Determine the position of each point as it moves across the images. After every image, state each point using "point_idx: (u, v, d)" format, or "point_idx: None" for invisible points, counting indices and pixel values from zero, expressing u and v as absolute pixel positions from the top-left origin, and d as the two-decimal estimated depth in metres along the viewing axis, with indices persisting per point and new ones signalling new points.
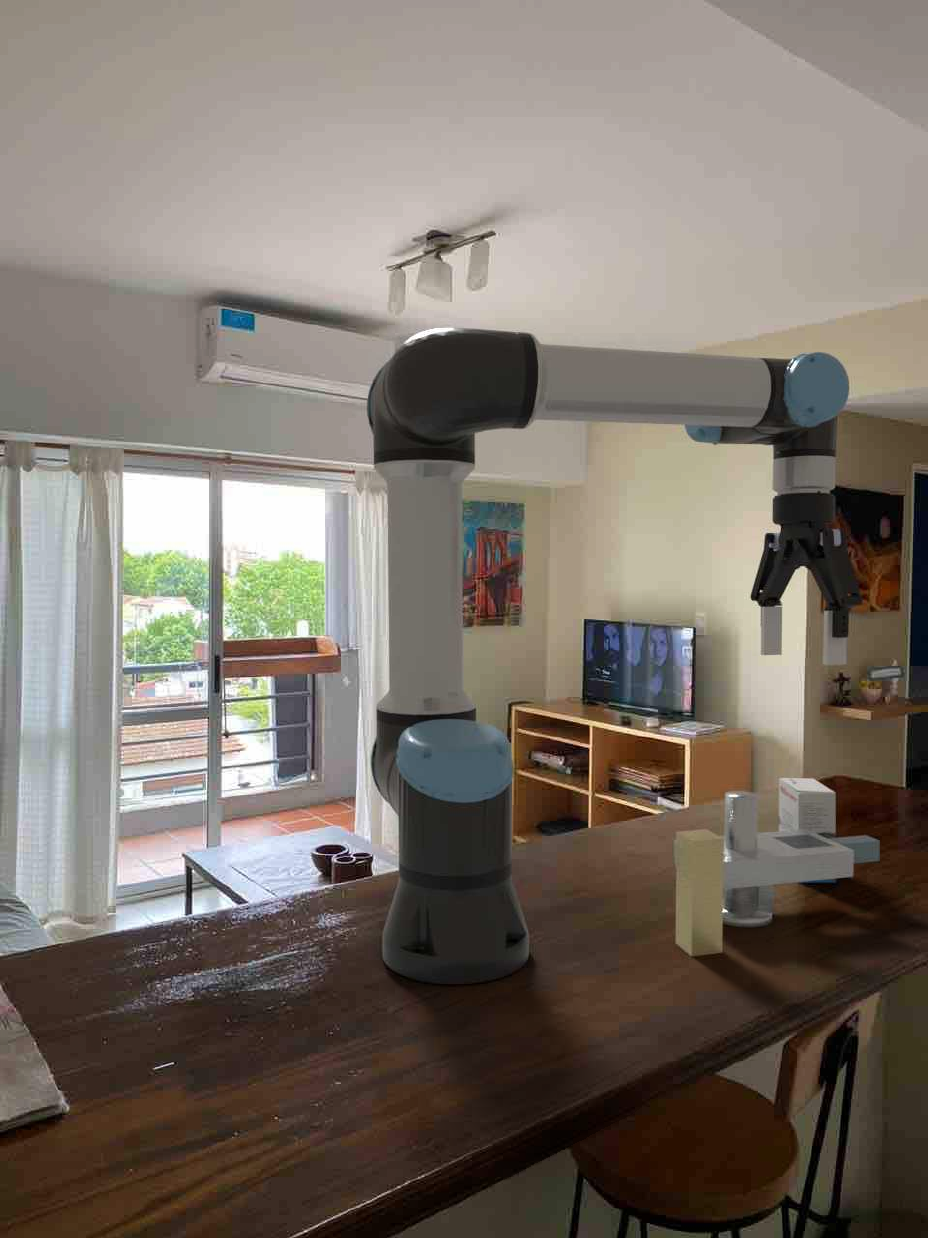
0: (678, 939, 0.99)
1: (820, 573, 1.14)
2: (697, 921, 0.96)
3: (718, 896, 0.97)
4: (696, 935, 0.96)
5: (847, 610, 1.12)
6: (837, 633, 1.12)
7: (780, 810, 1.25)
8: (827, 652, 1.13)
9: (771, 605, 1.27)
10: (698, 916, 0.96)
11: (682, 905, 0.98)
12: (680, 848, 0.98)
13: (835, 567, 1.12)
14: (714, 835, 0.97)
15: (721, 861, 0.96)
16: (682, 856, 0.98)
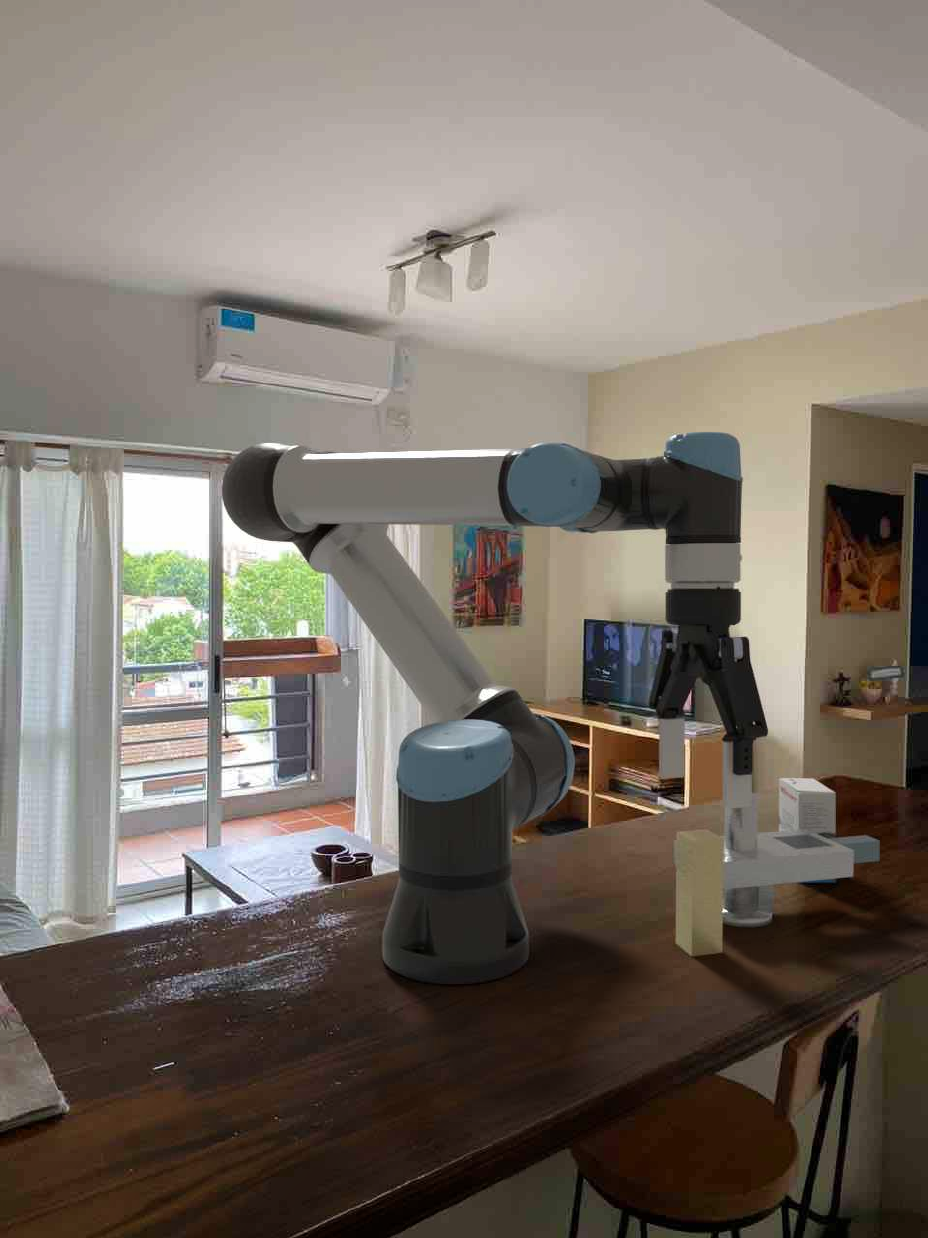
0: (678, 939, 0.99)
1: (719, 692, 0.91)
2: (697, 921, 0.96)
3: (718, 896, 0.97)
4: (696, 935, 0.96)
5: (750, 741, 0.89)
6: (738, 770, 0.89)
7: (780, 810, 1.25)
8: (727, 792, 0.90)
9: (671, 717, 1.04)
10: (698, 916, 0.96)
11: (682, 905, 0.98)
12: (680, 848, 0.98)
13: (734, 687, 0.89)
14: (714, 835, 0.97)
15: (721, 861, 0.96)
16: (682, 856, 0.98)
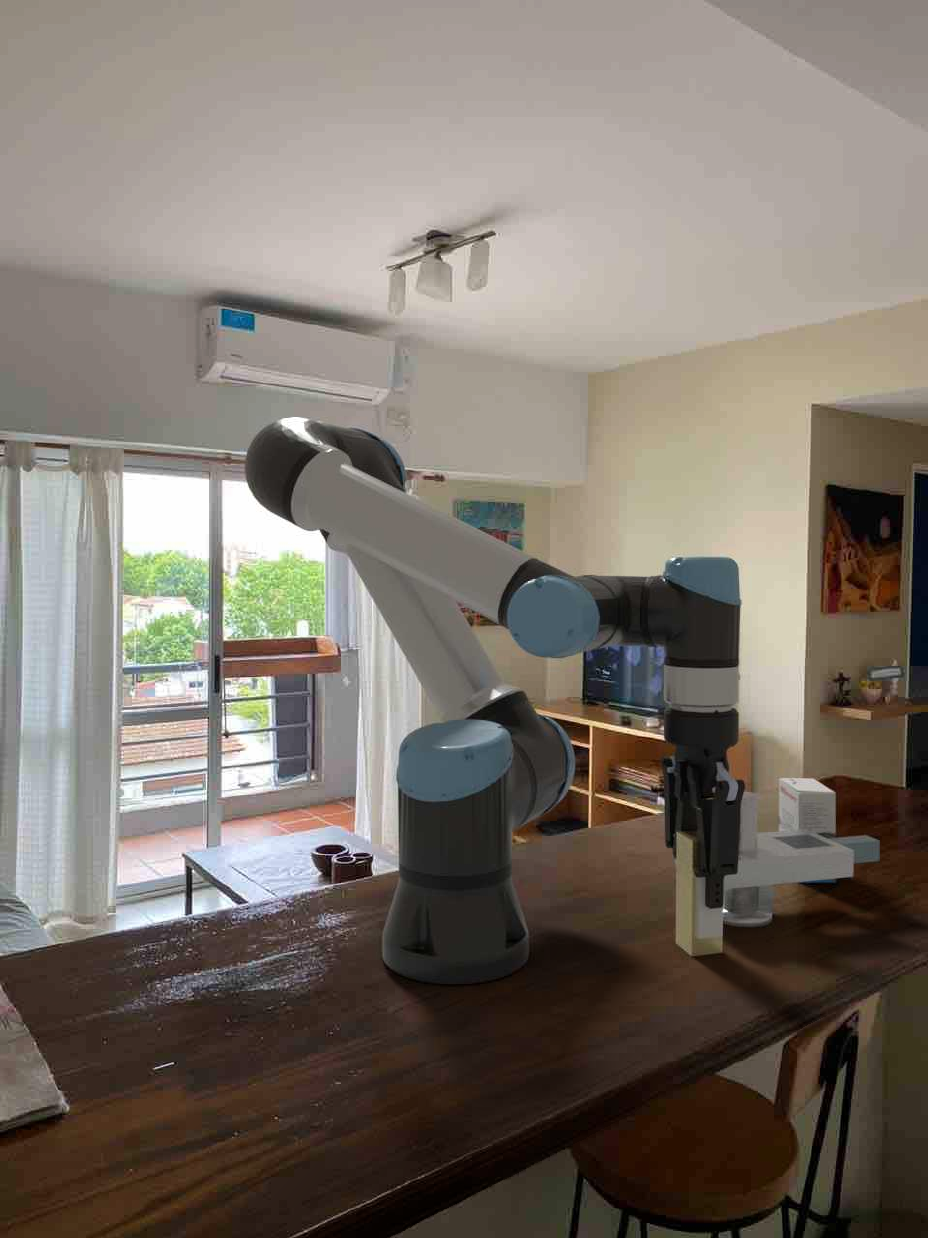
0: (678, 939, 0.99)
1: (704, 826, 0.95)
2: None
3: None
4: None
5: (721, 877, 0.94)
6: (710, 904, 0.94)
7: (780, 810, 1.25)
8: (699, 924, 0.95)
9: None
10: None
11: (682, 905, 0.98)
12: (680, 848, 0.98)
13: (718, 831, 0.92)
14: None
15: None
16: (683, 856, 0.98)
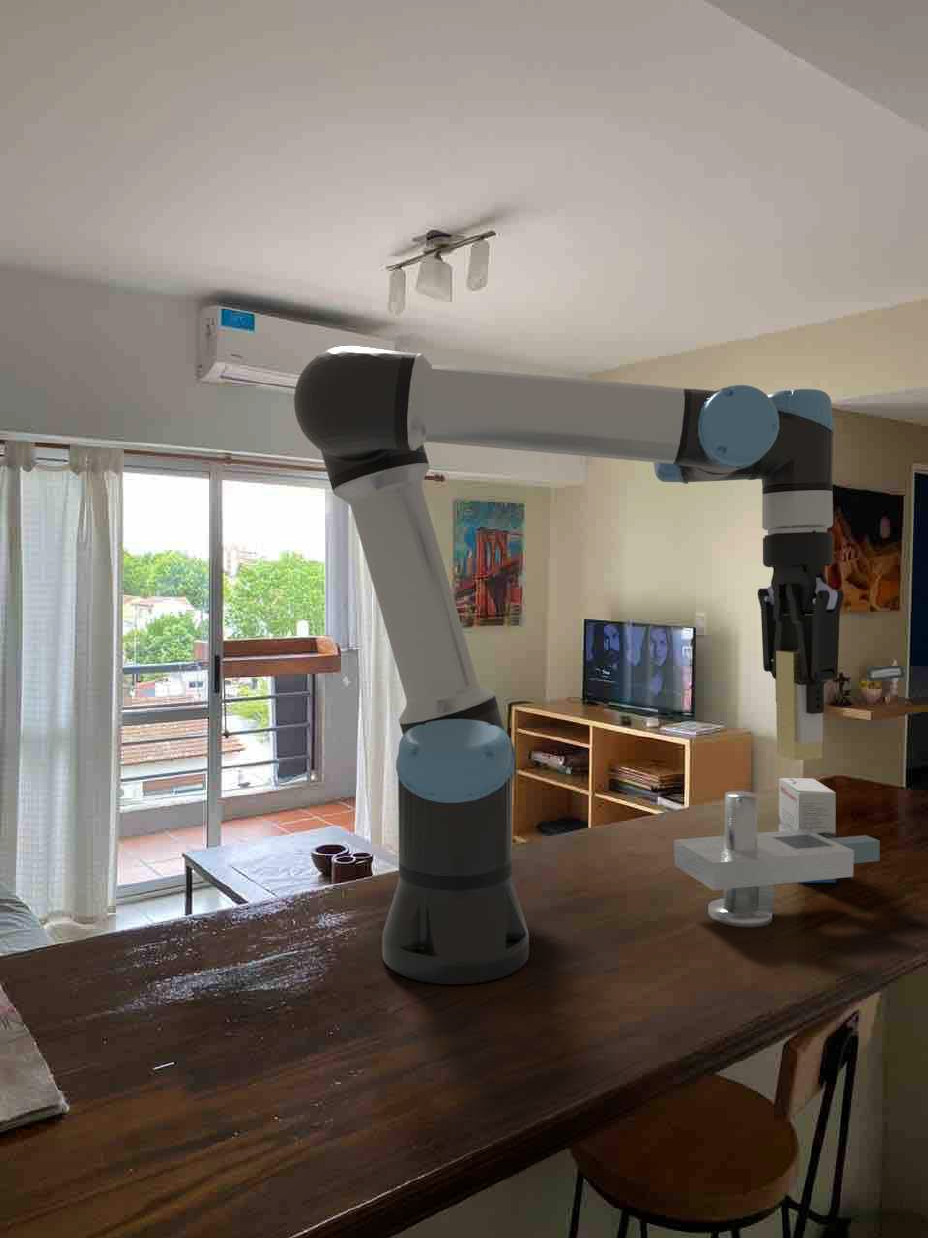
0: (779, 750, 1.07)
1: (804, 637, 1.03)
2: None
3: None
4: None
5: (821, 684, 1.03)
6: (811, 709, 1.03)
7: (780, 810, 1.25)
8: (801, 729, 1.04)
9: None
10: None
11: (783, 716, 1.06)
12: (780, 664, 1.06)
13: (819, 637, 1.00)
14: None
15: None
16: (783, 670, 1.06)
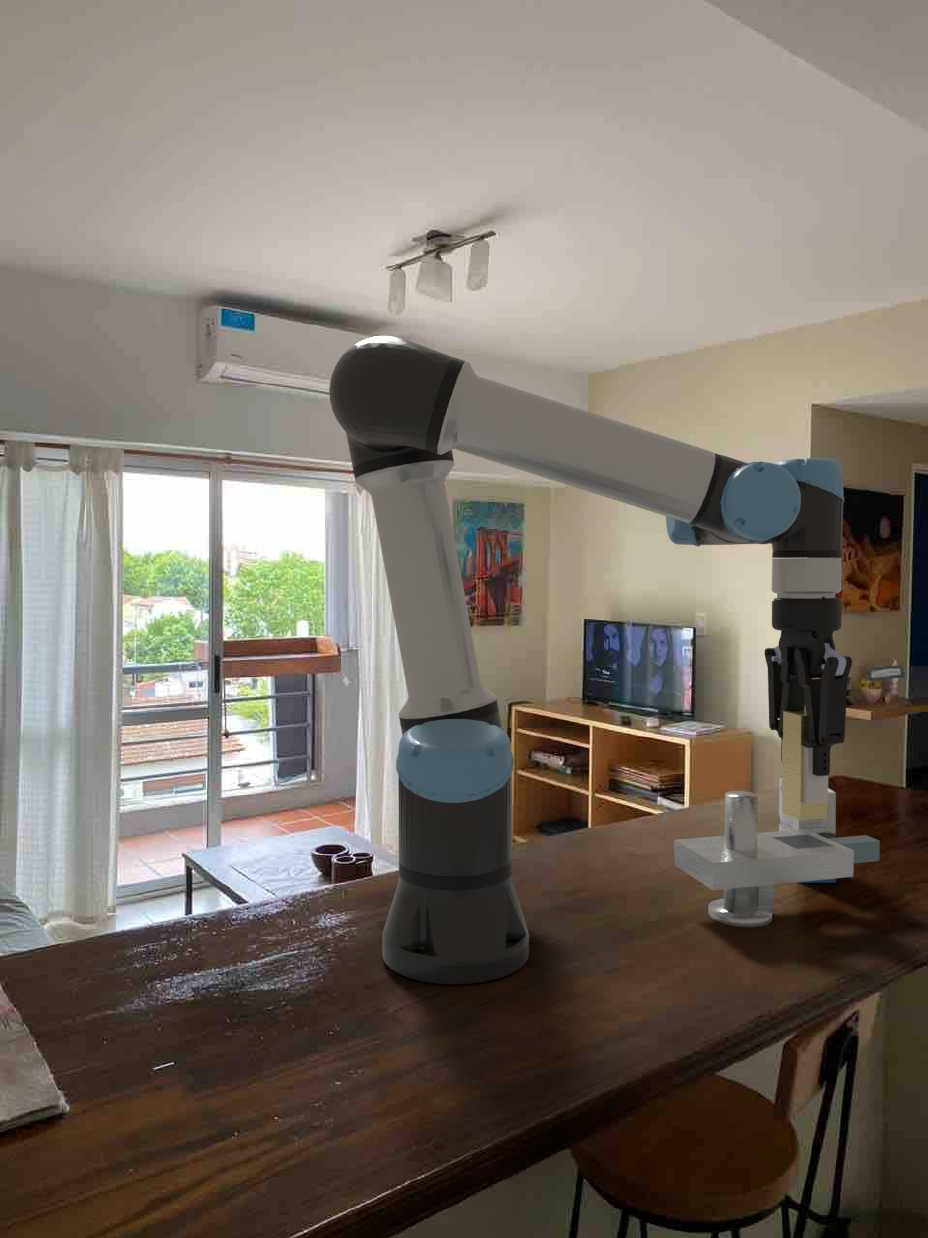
0: (785, 808, 1.09)
1: (812, 701, 1.05)
2: None
3: None
4: None
5: (828, 747, 1.05)
6: (818, 771, 1.05)
7: (780, 810, 1.25)
8: (807, 790, 1.06)
9: None
10: None
11: (790, 776, 1.08)
12: (787, 725, 1.08)
13: (827, 703, 1.02)
14: None
15: None
16: (790, 731, 1.08)
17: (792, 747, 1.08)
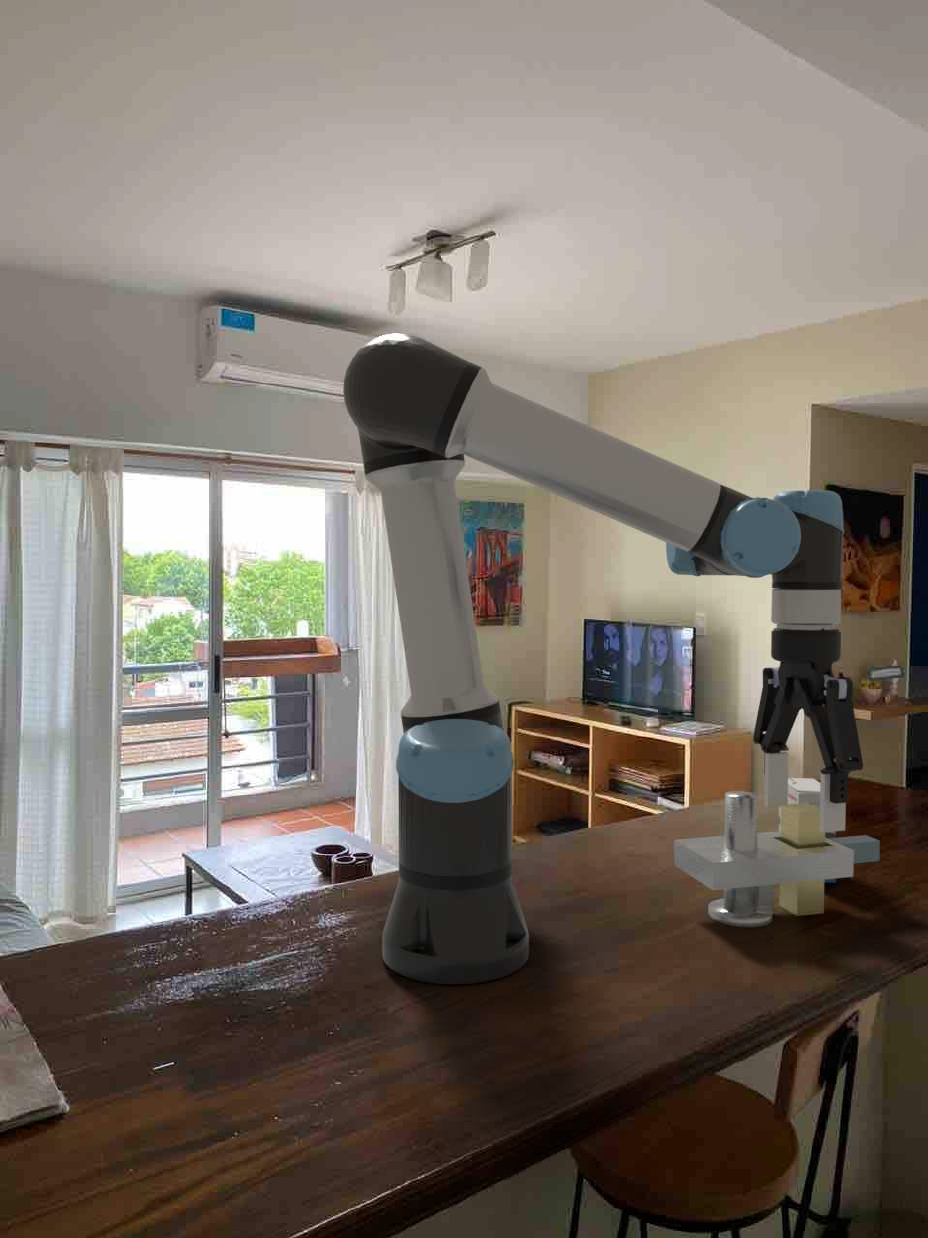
0: (782, 902, 1.10)
1: (821, 727, 1.03)
2: (801, 884, 1.07)
3: None
4: (801, 897, 1.07)
5: (846, 773, 1.02)
6: (835, 799, 1.02)
7: (780, 810, 1.25)
8: (824, 818, 1.03)
9: (776, 751, 1.14)
10: None
11: None
12: (785, 819, 1.09)
13: (837, 726, 1.01)
14: (816, 807, 1.08)
15: None
16: (787, 826, 1.09)
17: (789, 842, 1.08)
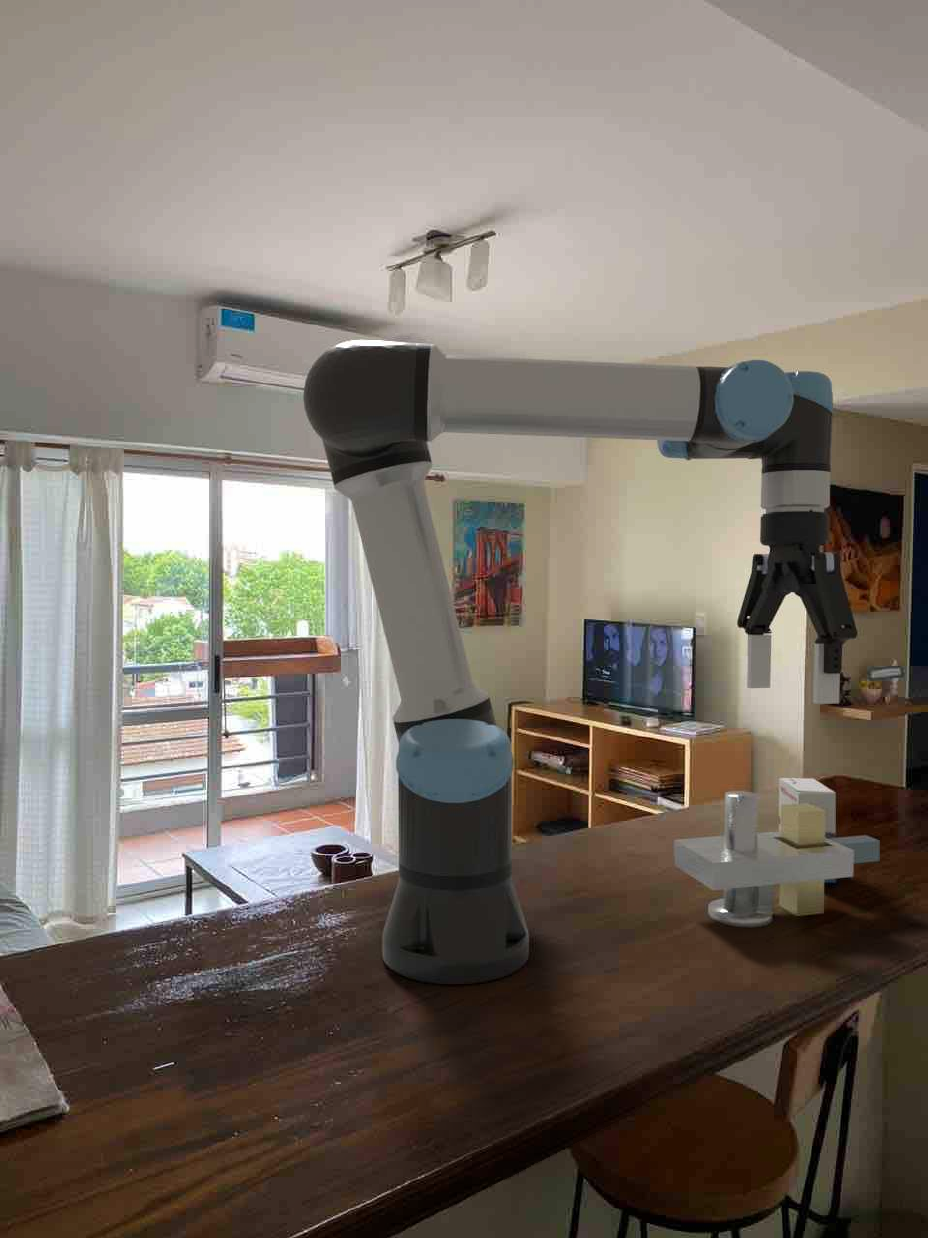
0: (782, 902, 1.10)
1: (811, 601, 1.03)
2: (801, 884, 1.07)
3: None
4: (801, 897, 1.07)
5: (840, 643, 1.00)
6: (829, 669, 1.01)
7: (780, 810, 1.25)
8: (817, 689, 1.02)
9: (759, 633, 1.16)
10: None
11: None
12: (785, 819, 1.09)
13: (827, 595, 1.00)
14: (816, 807, 1.08)
15: (823, 831, 1.07)
16: (787, 826, 1.09)
17: (789, 842, 1.08)
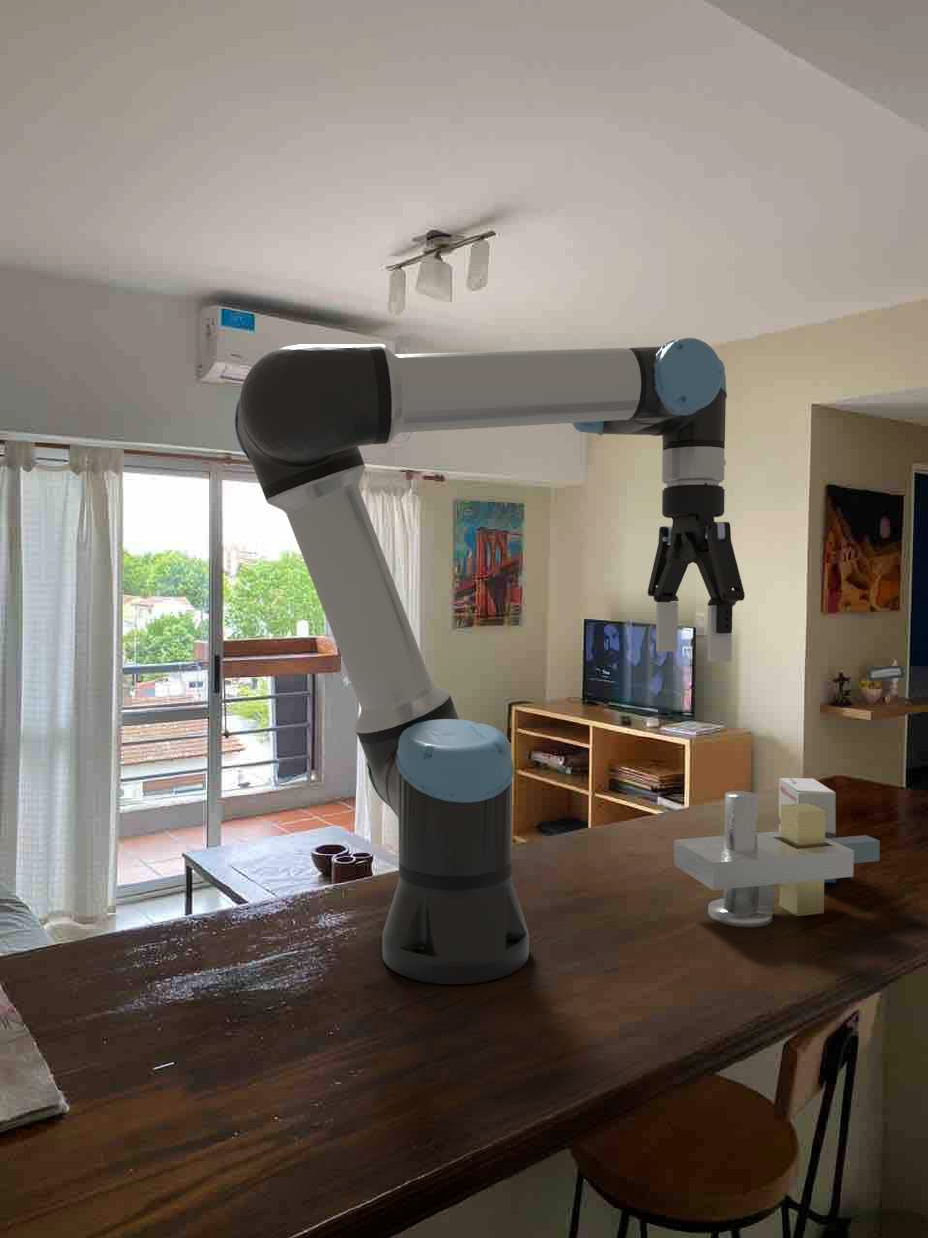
0: (782, 902, 1.10)
1: (705, 567, 1.11)
2: (801, 884, 1.07)
3: None
4: (801, 897, 1.07)
5: (730, 605, 1.09)
6: (720, 629, 1.09)
7: (780, 810, 1.25)
8: (711, 648, 1.10)
9: (667, 600, 1.24)
10: None
11: None
12: (785, 820, 1.09)
13: (718, 561, 1.09)
14: (816, 807, 1.08)
15: (823, 831, 1.07)
16: (787, 826, 1.09)
17: (789, 842, 1.08)
